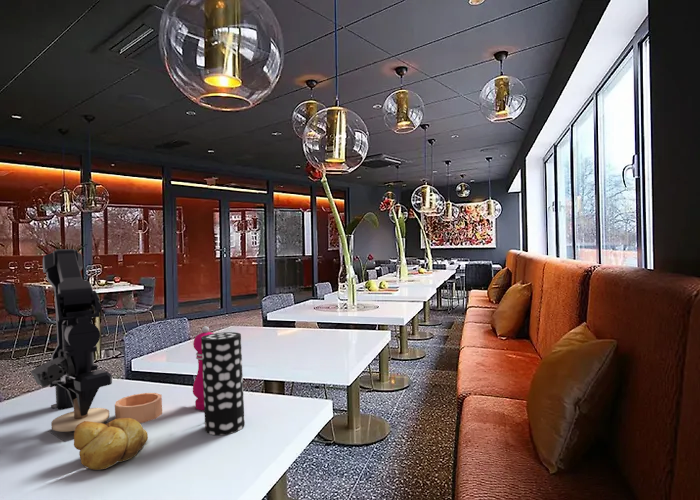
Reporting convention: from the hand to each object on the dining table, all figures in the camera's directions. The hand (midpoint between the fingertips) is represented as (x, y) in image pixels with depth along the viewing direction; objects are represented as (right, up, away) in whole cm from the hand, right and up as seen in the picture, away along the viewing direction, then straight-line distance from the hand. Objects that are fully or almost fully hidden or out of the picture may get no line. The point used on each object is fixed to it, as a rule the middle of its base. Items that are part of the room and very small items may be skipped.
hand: (81, 413), depth 99 cm
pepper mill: (+24, -3, +13) cm, 28 cm away
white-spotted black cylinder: (+32, -3, -1) cm, 32 cm away
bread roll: (+15, -4, -14) cm, 21 cm away
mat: (0, -4, 0) cm, 4 cm away
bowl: (+10, -3, +6) cm, 12 cm away
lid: (0, -2, 0) cm, 2 cm away
